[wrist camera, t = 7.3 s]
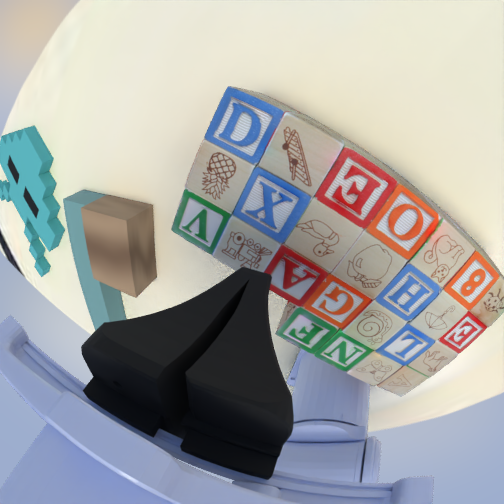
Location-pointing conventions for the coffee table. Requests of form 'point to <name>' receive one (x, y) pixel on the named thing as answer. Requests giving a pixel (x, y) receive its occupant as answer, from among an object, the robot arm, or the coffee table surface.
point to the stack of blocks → (338, 243)
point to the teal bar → (95, 292)
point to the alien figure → (31, 190)
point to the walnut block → (120, 243)
